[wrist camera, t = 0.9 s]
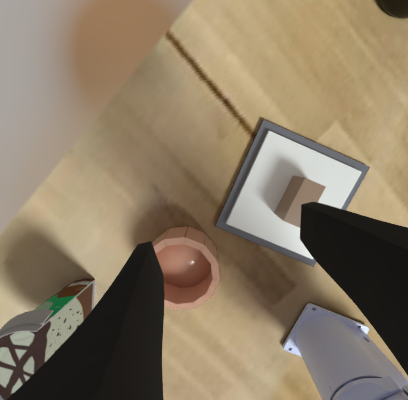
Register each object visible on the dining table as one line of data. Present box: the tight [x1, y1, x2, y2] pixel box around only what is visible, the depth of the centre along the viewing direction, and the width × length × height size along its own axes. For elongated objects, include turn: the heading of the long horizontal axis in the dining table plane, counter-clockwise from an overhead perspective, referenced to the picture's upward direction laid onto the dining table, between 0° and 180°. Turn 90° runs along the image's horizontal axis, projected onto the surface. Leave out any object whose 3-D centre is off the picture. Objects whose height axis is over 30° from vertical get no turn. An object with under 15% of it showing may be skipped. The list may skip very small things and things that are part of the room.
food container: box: [0, 279, 95, 400], centre depth 25 cm, size 12×6×10 cm, turn 172°
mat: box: [215, 120, 370, 267], centre depth 26 cm, size 14×14×1 cm
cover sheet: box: [226, 131, 362, 259], centre depth 24 cm, size 12×12×4 cm
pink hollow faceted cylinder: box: [152, 226, 220, 310], centre depth 26 cm, size 9×9×4 cm
